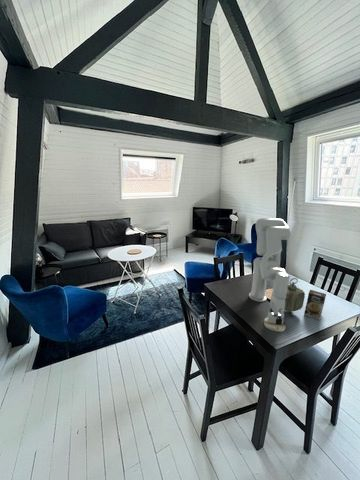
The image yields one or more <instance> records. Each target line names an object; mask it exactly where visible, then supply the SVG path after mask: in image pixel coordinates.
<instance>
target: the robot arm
mask: <svg viewBox="0 0 360 480" xmlns="http://www.w3.org/2000/svg"><path fill="white" fill-rule="evenodd" d="M255 231H256V237H257V238H256V239H257V240H256V254H257V255H258V256H262V257H256V258H255V259H253V274H252V275H253V276H252V285H251V292H249V294H248V297H249V298H250V299H251V300H252V301H254V302H259V303H260V302H266V301H267V296H266V289H267V281H273V285H272V293H271V297H270V301H269V309H270V310H269V312H274V313H275V314H277V318H276V325H281V324H282V319H283V318H285V310H284V309H285V298H286V296H287V291H288V285H290V280H291V278H290V274H288V273H287V271H286V269H285V268H284V267H283V268H282V267H281V254H282V253H281V252H283V247H282V241H283V240H284V241H286V240H289V239H290V238H291V236H292V235H291V233H292V232H291V229H290V227H289V226H288V224H287V223H286V221H284V219H282V218H274V217H273V218H272V217H270V218H268V217H266V218H265V217H264V218H259V219H257V220H256V222H255ZM278 314H279V315H281V316H279V315H278ZM283 320H284V319H283Z"/></svg>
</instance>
